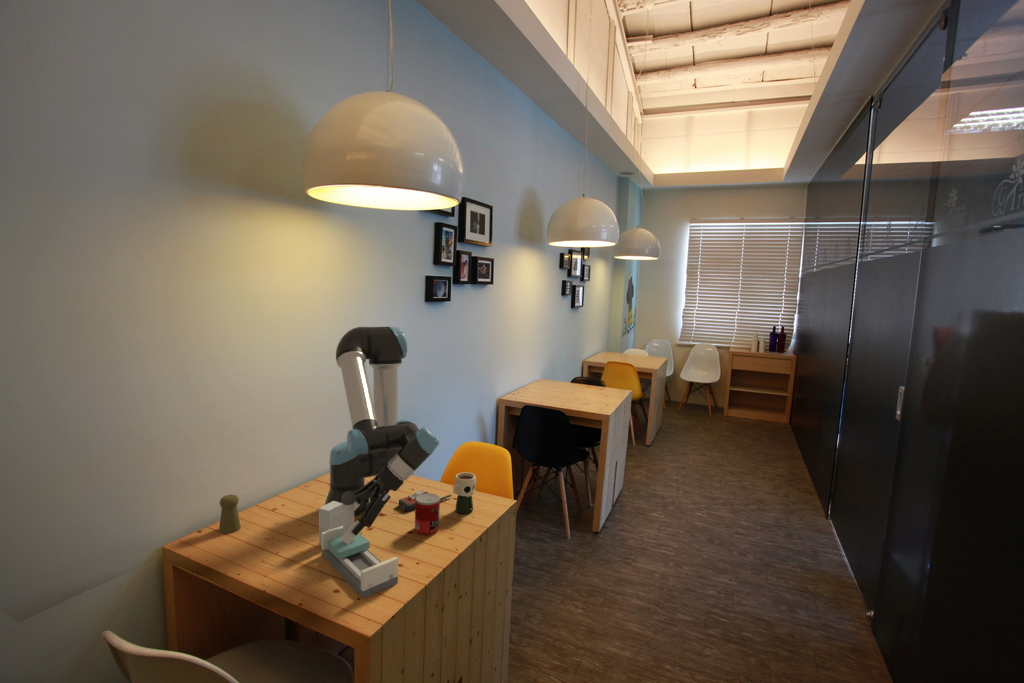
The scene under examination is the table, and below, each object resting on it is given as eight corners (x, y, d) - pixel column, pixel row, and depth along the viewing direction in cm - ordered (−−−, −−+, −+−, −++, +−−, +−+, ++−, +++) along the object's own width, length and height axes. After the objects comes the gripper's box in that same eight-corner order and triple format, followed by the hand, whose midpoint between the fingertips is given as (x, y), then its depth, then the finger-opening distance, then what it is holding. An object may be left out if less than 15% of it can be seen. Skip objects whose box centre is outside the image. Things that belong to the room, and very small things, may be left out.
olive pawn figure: (216, 528, 152) (215, 496, 151) (237, 522, 156) (236, 490, 155) (222, 536, 148) (221, 502, 147) (243, 529, 152) (242, 496, 151)
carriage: (327, 547, 137) (327, 491, 136) (356, 537, 144) (357, 483, 142) (339, 559, 132) (339, 500, 130) (369, 548, 138) (370, 492, 136)
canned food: (434, 537, 152) (434, 504, 151) (410, 533, 154) (411, 501, 153) (442, 526, 160) (443, 494, 158) (420, 522, 161) (420, 491, 160)
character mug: (459, 519, 165) (461, 483, 163) (446, 512, 169) (447, 477, 168) (481, 509, 173) (483, 474, 172) (468, 502, 178) (469, 469, 176)
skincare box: (333, 536, 150) (333, 500, 149) (343, 539, 148) (343, 503, 147) (318, 545, 145) (318, 507, 143) (328, 549, 143) (328, 511, 142)
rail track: (321, 555, 140) (321, 532, 139) (353, 543, 146) (354, 522, 146) (362, 598, 121) (363, 572, 120) (397, 583, 128) (398, 558, 127)
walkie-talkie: (408, 516, 166) (453, 499, 181) (408, 504, 166) (453, 488, 180) (394, 507, 172) (438, 492, 187) (394, 496, 172) (439, 481, 186)
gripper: (413, 497, 131) (356, 559, 126) (396, 465, 153) (347, 517, 149) (394, 481, 128) (335, 544, 123) (380, 451, 151) (329, 503, 146)
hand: (342, 529), depth 136 cm, fingers open, 13 cm apart
